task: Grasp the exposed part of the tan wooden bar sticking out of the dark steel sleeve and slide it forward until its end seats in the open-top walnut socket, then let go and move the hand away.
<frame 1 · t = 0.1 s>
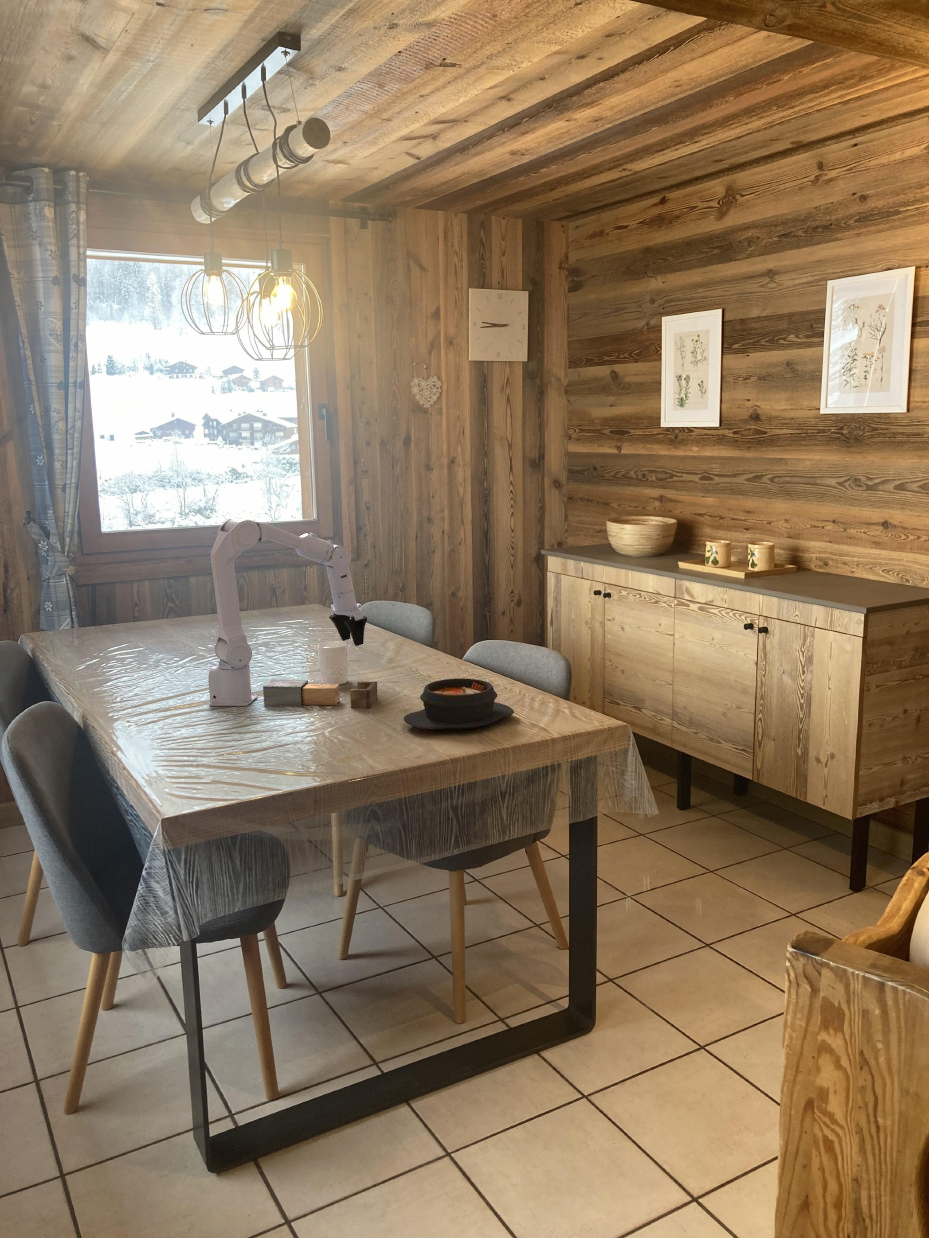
hand: (352, 642, 250), 11 cm above the table, tool pointing down, fingers open, 7 cm apart
casserole: (459, 724, 215), on the table
white cup: (334, 682, 253), on the table
socket: (364, 703, 232), on the table
sleeve: (286, 702, 234), on the table
tan wooden bar: (304, 694, 233), point 2 cm above the table, slide at 0.0 cm
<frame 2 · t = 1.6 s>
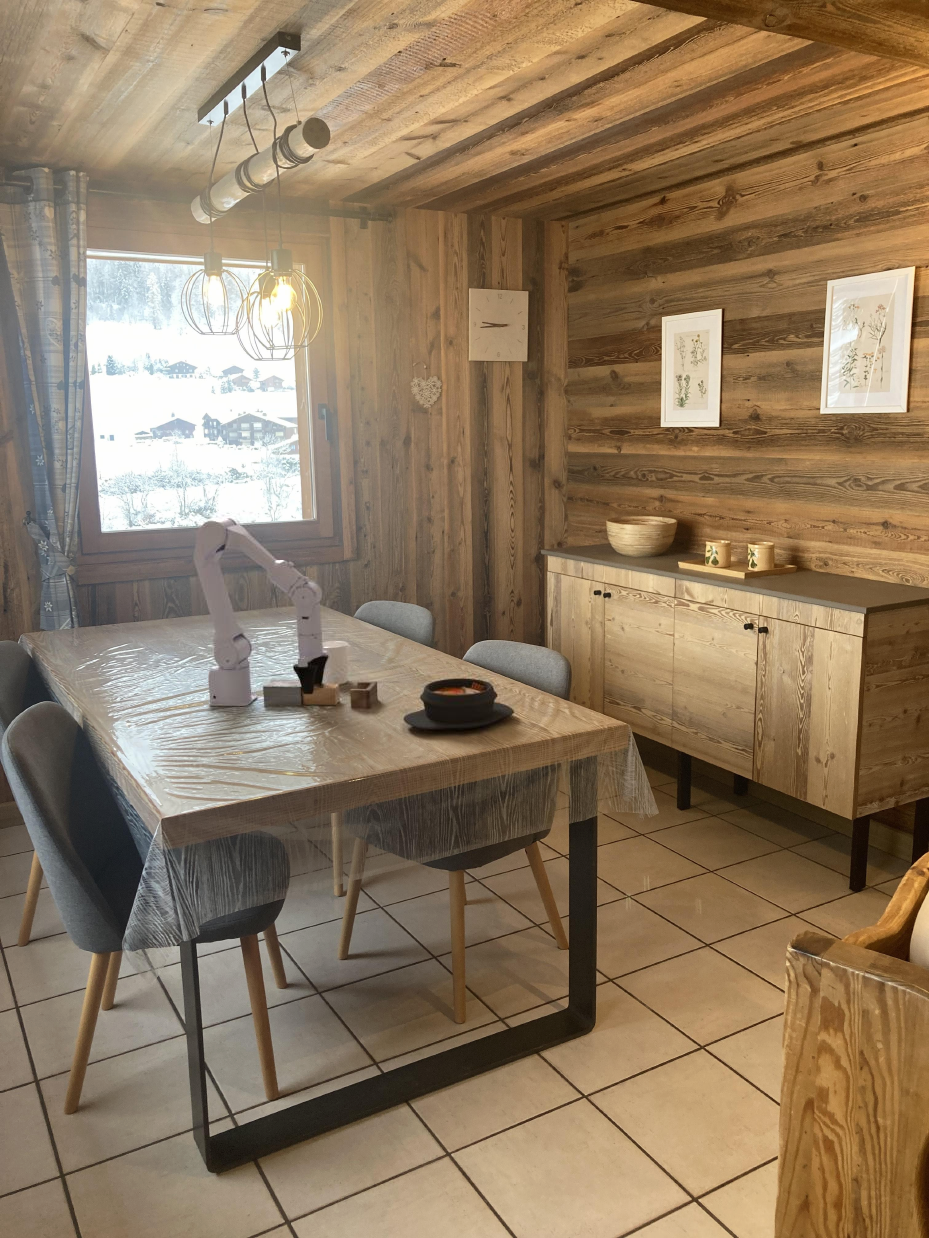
hand: (312, 689, 233), 3 cm above the table, tool pointing down, fingers open, 7 cm apart
nothing on the table moved.
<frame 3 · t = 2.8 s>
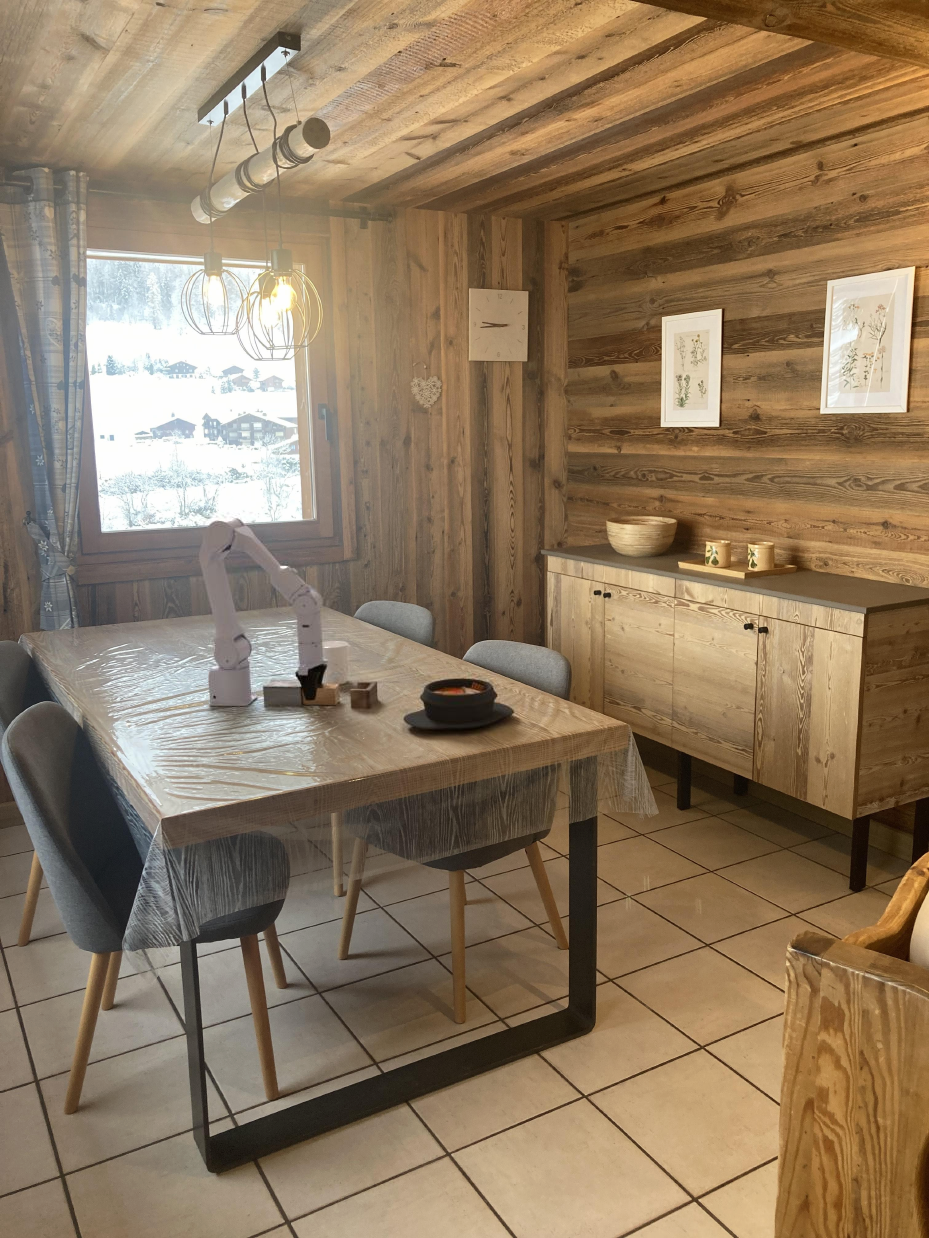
hand: (312, 697, 233), 1 cm above the table, tool pointing down, fingers closed on tan wooden bar, 4 cm apart
tan wooden bar: (304, 694, 233), point 2 cm above the table, slide at 0.0 cm, touching gripper
everything else where it was.
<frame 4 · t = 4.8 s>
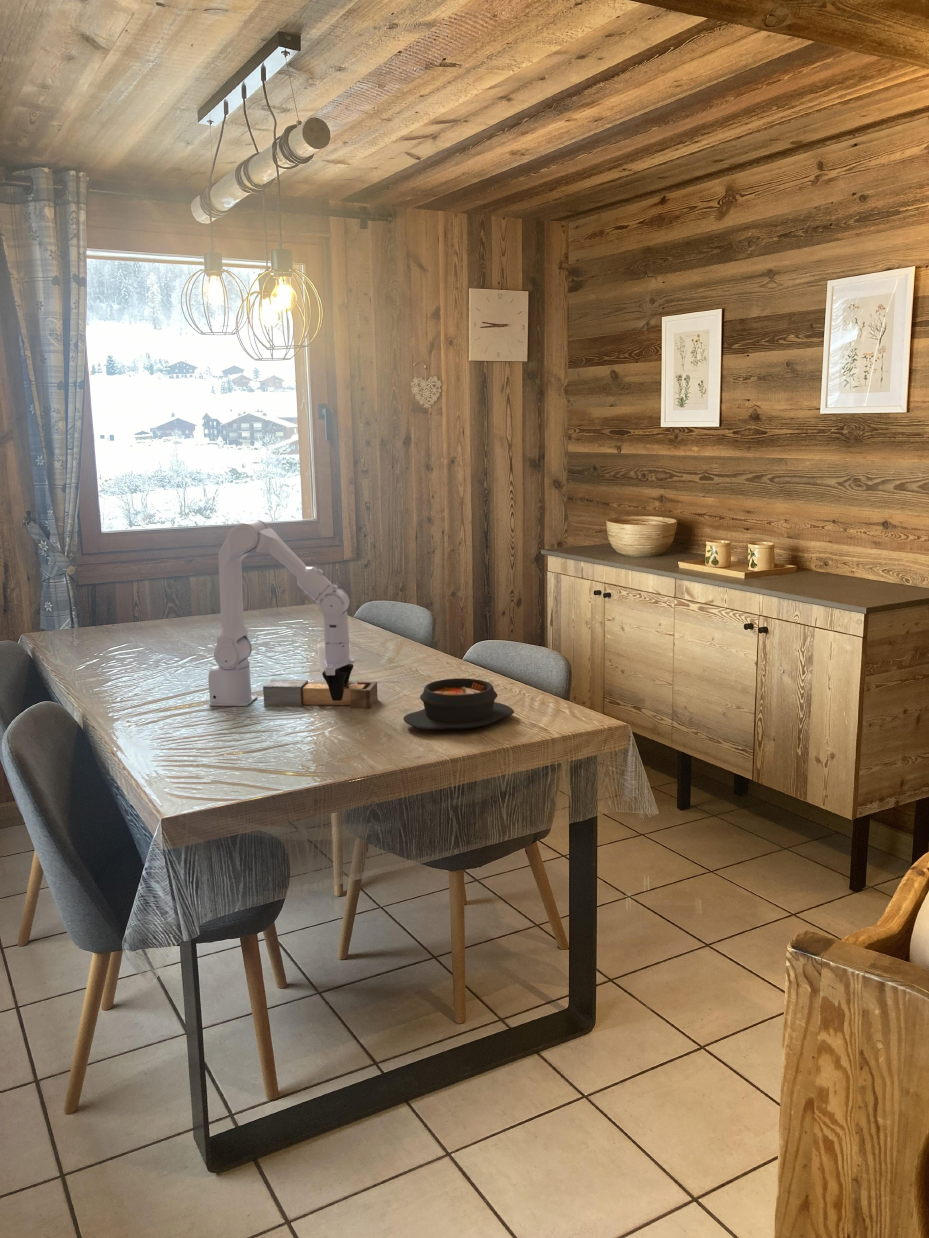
hand: (339, 697, 232), 1 cm above the table, tool pointing down, fingers closed on tan wooden bar, 4 cm apart
tan wooden bar: (330, 694, 232), point 2 cm above the table, slide at 6.4 cm, touching gripper
everything else where it was.
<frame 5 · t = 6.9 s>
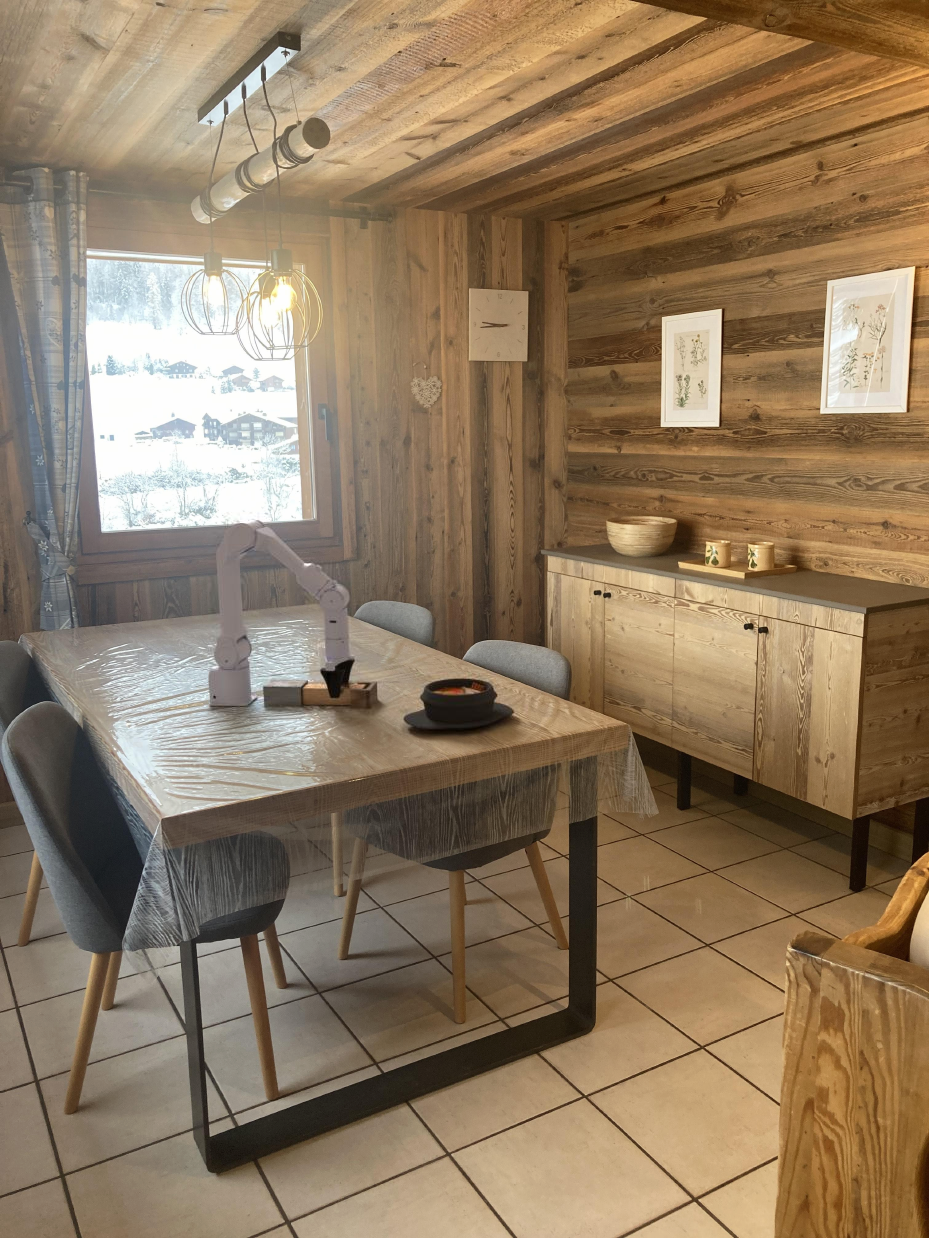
hand: (339, 693, 232), 2 cm above the table, tool pointing down, fingers open, 7 cm apart
tan wooden bar: (331, 694, 232), point 2 cm above the table, slide at 6.5 cm
everything else where it was.
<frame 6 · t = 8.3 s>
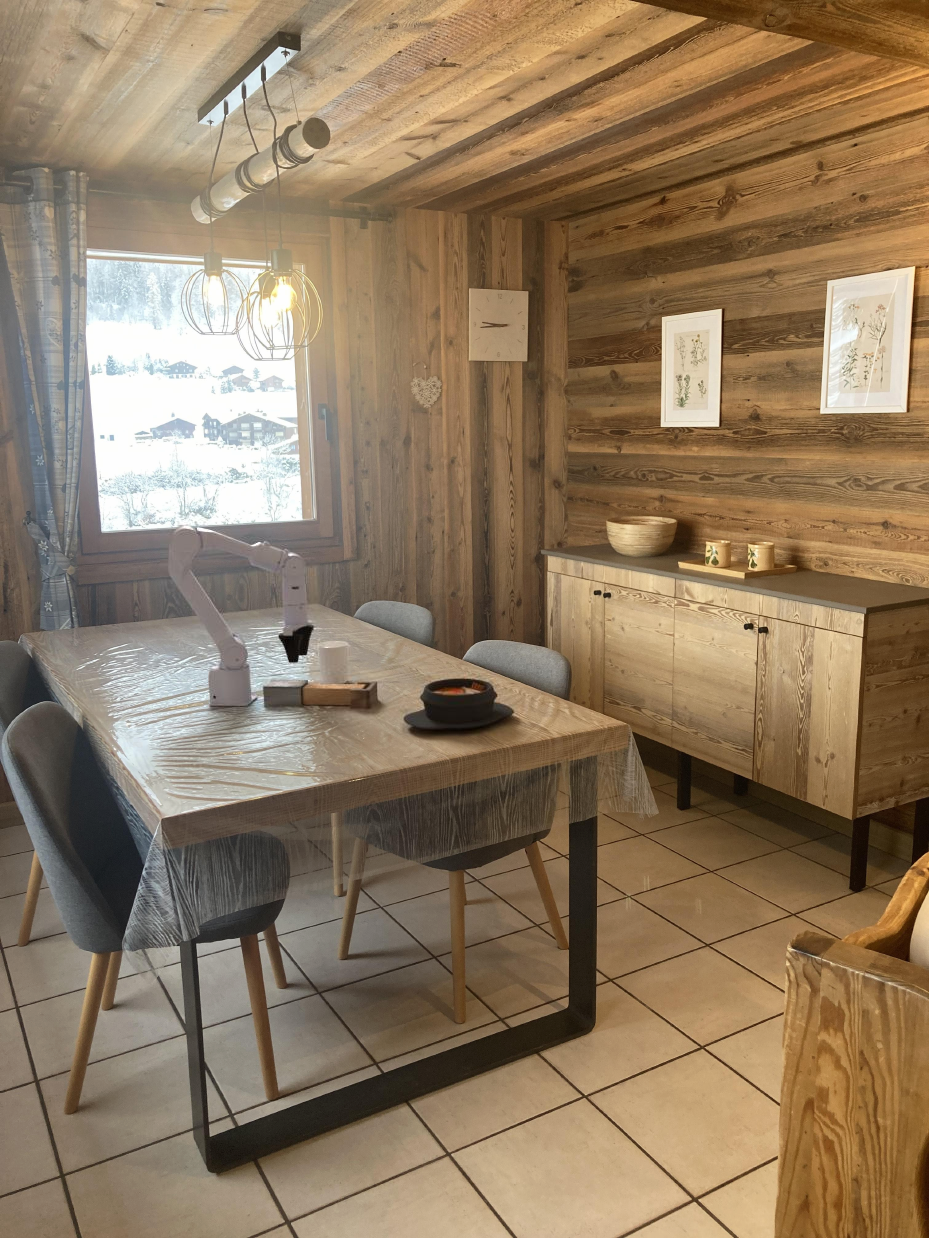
hand: (298, 658, 238), 9 cm above the table, tool pointing down, fingers open, 7 cm apart
nothing on the table moved.
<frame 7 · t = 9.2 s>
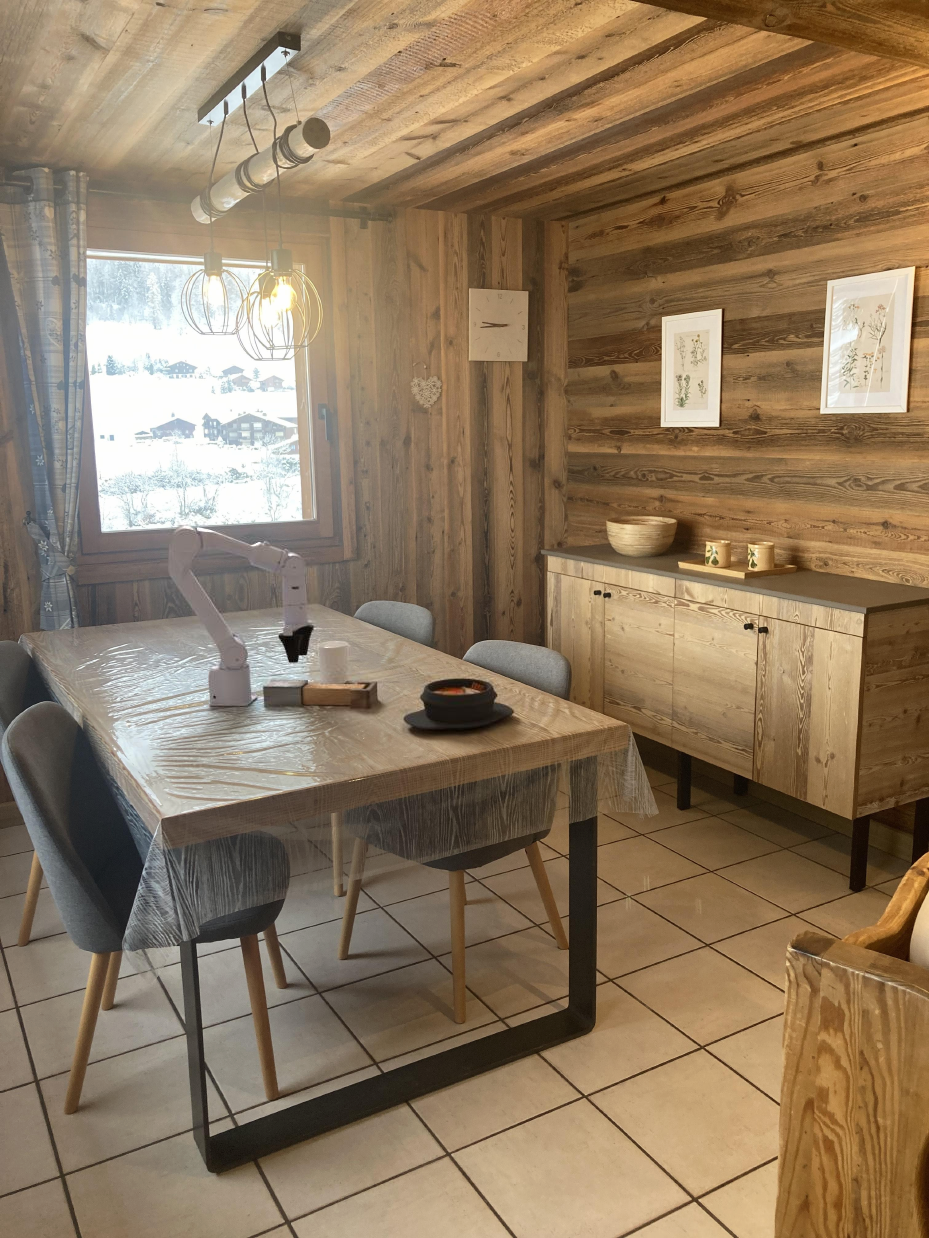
hand: (298, 658, 238), 9 cm above the table, tool pointing down, fingers open, 7 cm apart
nothing on the table moved.
at the end: tan wooden bar slide at 6.5 cm; the gripper is holding nothing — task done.
